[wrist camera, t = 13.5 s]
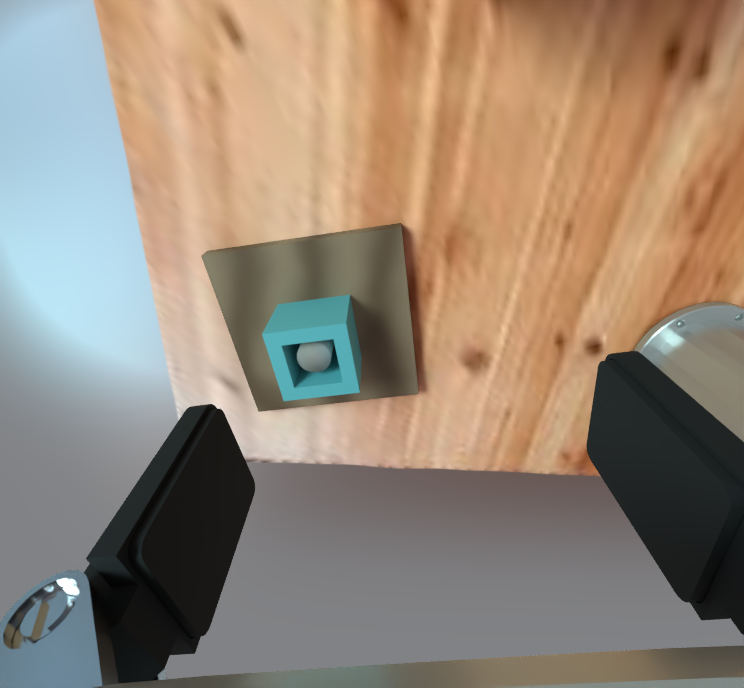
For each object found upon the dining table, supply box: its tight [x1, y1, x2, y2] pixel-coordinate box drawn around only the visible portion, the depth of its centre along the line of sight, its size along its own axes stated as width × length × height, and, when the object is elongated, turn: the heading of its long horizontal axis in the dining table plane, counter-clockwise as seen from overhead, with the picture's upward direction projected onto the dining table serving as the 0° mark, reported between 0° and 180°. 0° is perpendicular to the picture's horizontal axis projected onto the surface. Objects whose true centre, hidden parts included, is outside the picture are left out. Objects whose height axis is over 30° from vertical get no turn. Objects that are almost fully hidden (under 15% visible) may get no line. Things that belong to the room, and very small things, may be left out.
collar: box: [262, 295, 362, 401], centre depth 36 cm, size 7×7×6 cm
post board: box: [202, 223, 419, 411], centre depth 37 cm, size 18×18×6 cm
